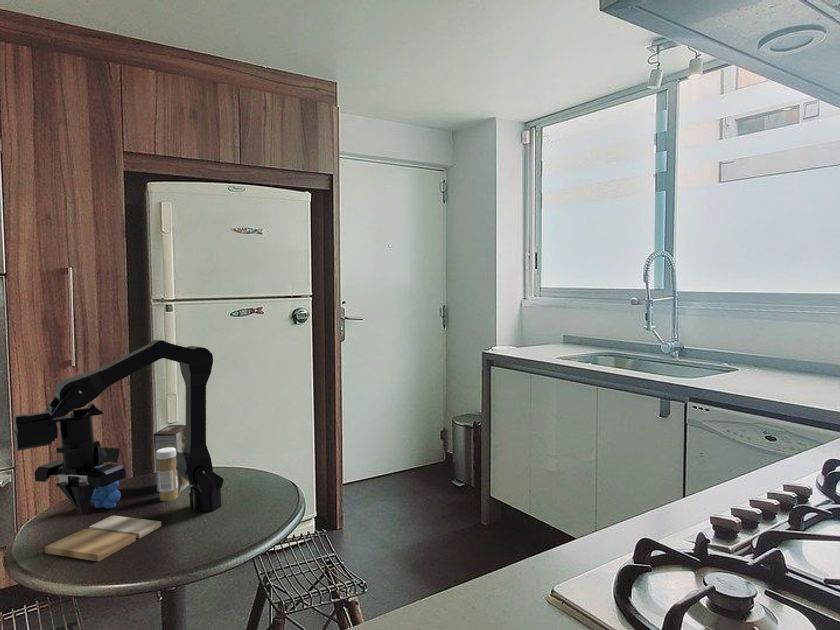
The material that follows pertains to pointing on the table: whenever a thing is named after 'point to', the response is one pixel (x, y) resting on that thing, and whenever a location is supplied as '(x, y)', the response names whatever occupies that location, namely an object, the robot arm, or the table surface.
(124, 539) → the oak plank
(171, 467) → the sprinkles bottle
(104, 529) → the ash board
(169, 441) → the coffee box
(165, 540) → the table surface
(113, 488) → the grapes
